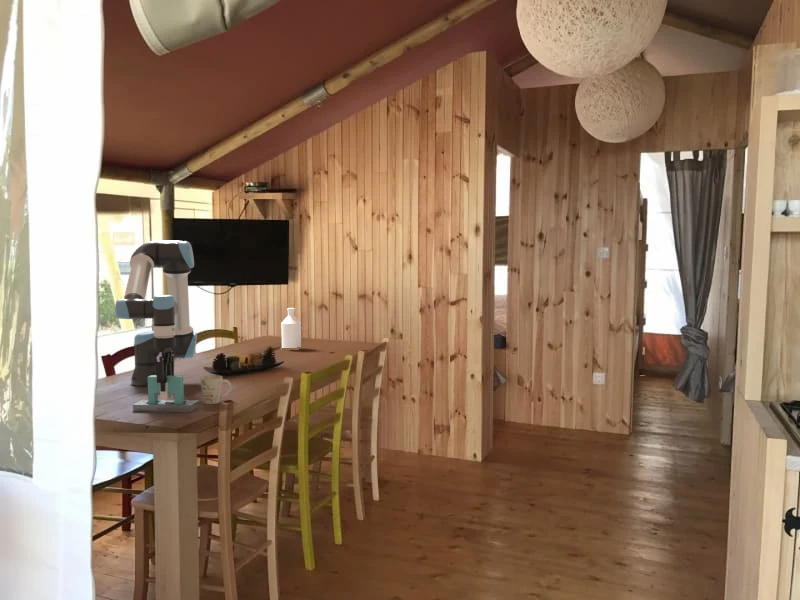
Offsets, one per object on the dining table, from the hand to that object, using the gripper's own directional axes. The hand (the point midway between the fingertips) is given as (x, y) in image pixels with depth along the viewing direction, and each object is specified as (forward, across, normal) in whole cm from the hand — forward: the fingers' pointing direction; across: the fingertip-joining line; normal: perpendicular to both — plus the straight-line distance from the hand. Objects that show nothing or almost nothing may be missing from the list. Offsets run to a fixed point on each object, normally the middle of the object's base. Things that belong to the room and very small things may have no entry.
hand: (166, 398), depth 244 cm
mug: (+4, +13, -15) cm, 20 cm away
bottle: (+4, +149, -16) cm, 150 cm away
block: (+4, 0, 0) cm, 4 cm away
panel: (+3, 0, 0) cm, 3 cm away
